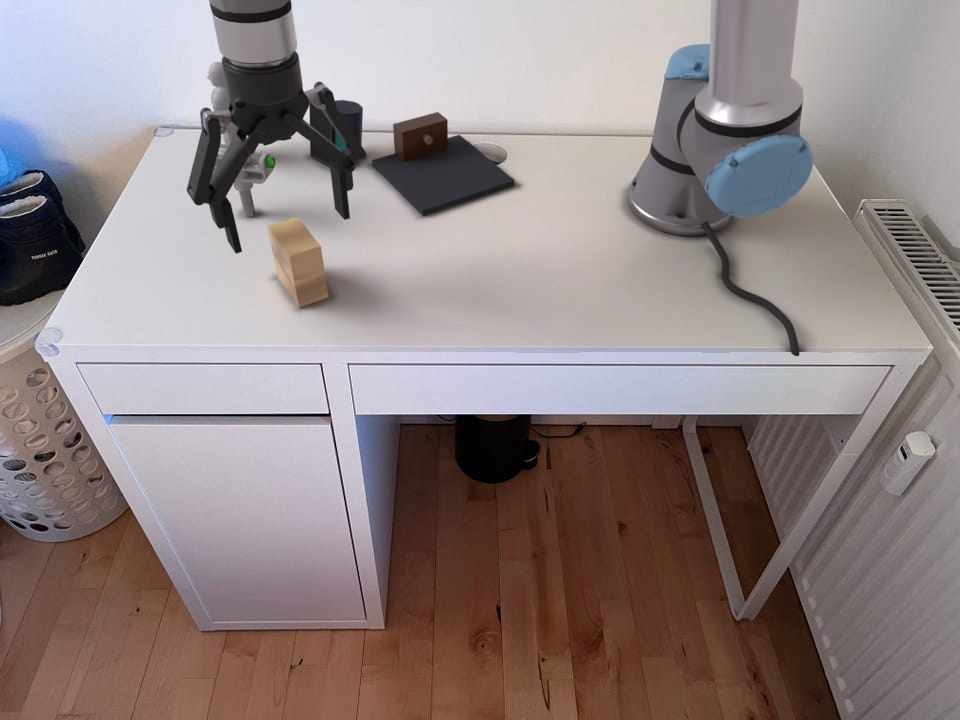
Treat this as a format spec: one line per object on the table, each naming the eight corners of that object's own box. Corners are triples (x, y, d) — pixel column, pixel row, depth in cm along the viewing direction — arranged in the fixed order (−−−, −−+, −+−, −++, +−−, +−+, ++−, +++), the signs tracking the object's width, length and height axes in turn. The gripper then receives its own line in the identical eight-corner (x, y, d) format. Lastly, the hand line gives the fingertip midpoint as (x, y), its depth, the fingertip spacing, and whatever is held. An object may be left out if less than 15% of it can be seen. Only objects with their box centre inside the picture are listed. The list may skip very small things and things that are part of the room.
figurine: (236, 140, 121) (215, 48, 110) (259, 142, 121) (240, 50, 110) (214, 171, 114) (190, 75, 103) (240, 173, 114) (218, 77, 103)
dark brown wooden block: (451, 152, 118) (451, 122, 114) (407, 165, 115) (406, 135, 111) (438, 140, 120) (438, 111, 117) (394, 153, 117) (392, 123, 114)
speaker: (321, 172, 114) (318, 106, 108) (309, 156, 118) (306, 91, 111) (368, 165, 117) (368, 101, 111) (355, 150, 121) (354, 87, 114)
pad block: (328, 297, 94) (320, 246, 88) (299, 308, 93) (289, 256, 87) (306, 267, 98) (297, 216, 93) (277, 277, 97) (266, 226, 91)
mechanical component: (279, 224, 105) (267, 161, 98) (211, 214, 106) (194, 151, 99) (287, 213, 107) (276, 150, 100) (220, 203, 108) (204, 140, 101)
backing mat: (514, 185, 113) (514, 180, 113) (422, 216, 107) (422, 210, 106) (459, 140, 123) (459, 134, 122) (372, 165, 116) (371, 159, 116)
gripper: (356, 17, 81) (370, 186, 96) (119, 63, 71) (176, 244, 86) (389, 42, 77) (397, 215, 92) (141, 95, 67) (196, 280, 82)
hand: (290, 229), depth 89 cm, fingers open, 13 cm apart
